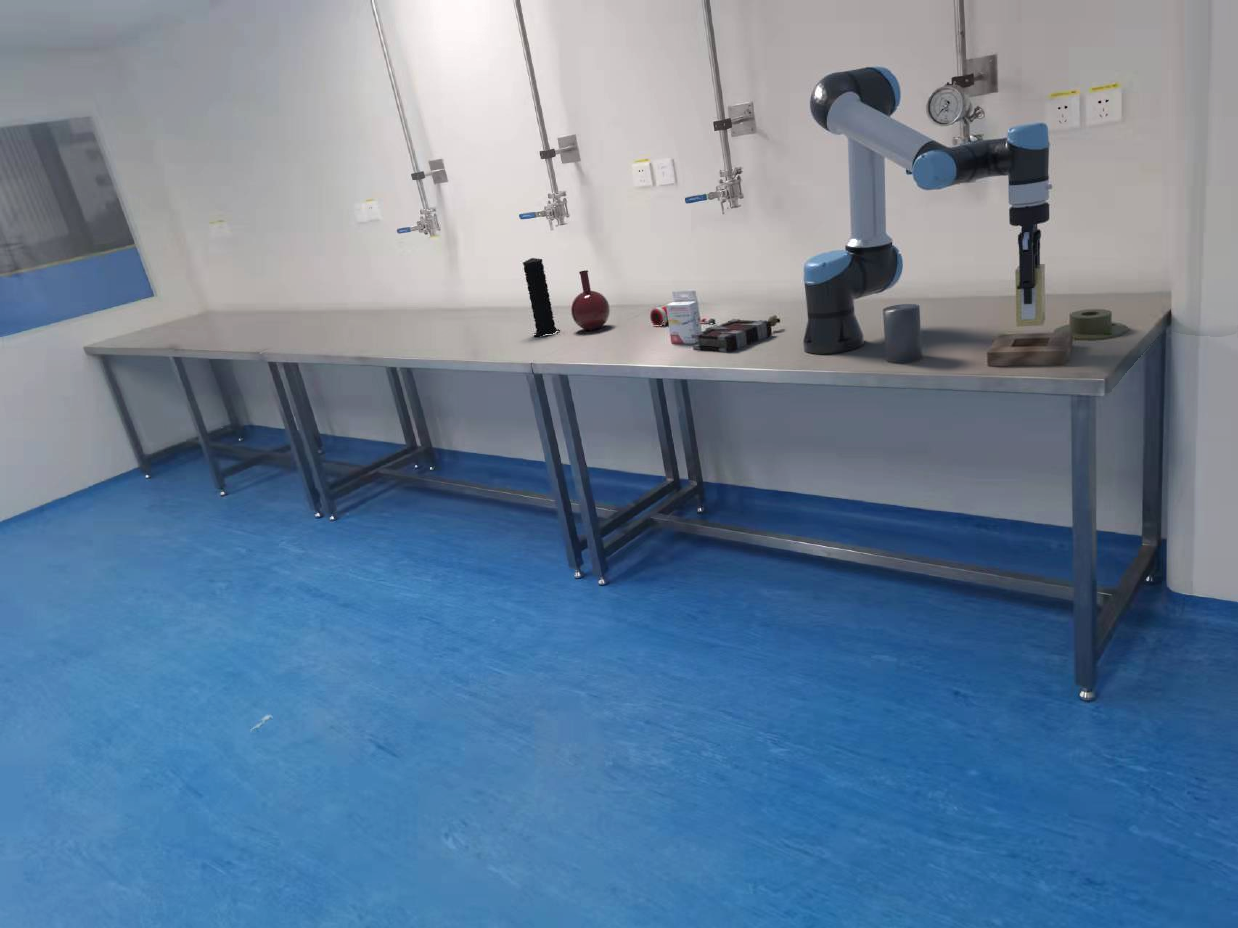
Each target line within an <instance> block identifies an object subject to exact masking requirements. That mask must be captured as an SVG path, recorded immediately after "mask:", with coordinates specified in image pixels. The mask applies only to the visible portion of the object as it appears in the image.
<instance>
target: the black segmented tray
mask: <svg viewBox="0 0 1238 928" xmlns="http://www.w3.org/2000/svg"><path fill="white" fill-rule="evenodd" d="M779 323H781V319H780V318H778V317H777V315H776V314H775V315H772V316H769V318H768V319H767V320H765V319H759V320H747V319H746V320H744V319H737V318H732V319H730V320H727V322H723V323H722V324H718V325H717V324H715V325H714V324H713V325H712V326H709V327H705V330H703V331H702V332H700V333H695V334H692V335H691V336H692V338H694V339H698V342H697V343H698V344H694V345H693V346H692V349H693V351H694V350H695V351H701V350H705V351H718V352H719V353H727V352H733V351H736V350H741V349H743V348H745V347H746V346H748V345H750V344H752V343H756V342H759V341H762V339H763V340H765V339H766V338H768V337H769V336H772V333H773V332H772V327H775V326H776V325H777V324H779Z"/></svg>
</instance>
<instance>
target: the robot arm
mask: <svg viewBox="0 0 1238 928" xmlns="http://www.w3.org/2000/svg"><path fill="white" fill-rule="evenodd" d="M901 93H902V92H901V86H900V83H899V81H898V78H897V77H896V75H895V74H893V73H892V71H891V70H890V69H888V68H886V67H883V66H867V67H861V68H857V69H850V70H845V71H838V72H831V73H829V74H827V75H825V76H824V77H822V78H821V79H819V81H818V82H817V83H816V84H815V86H814V88H813V90H812V92H811V95H810V99H809V100H810V101H809V108H810V114H811V115H812V117H813V120H814V121H815V123H817V125H819V126H820V127H822V129H823V130H825V131H827V132H829V133H830V134H832V135H836V136H838V135H844V136H845V137H846V138H847V156H848V157H847V158H848V162H847V163H848V185H849V186H848V187H849V190H848V191H849V210H850V211H849V215H850V218H849V219H850V238H848V240H847V241H846V242H845V244H844V246H845V247H844V249H838V250H831V251H828V252H823V253H820V254H816V255H815V256H812V257H811V258H809V259H807V260H806V261H805V263H804V265H803V277H802V279H803V284H804V293H805V300H806V312H807V323H806V327H805V331H804V335H803V343H802V344H803V351H804V352H806V353H808V354H809V353H810V354H817V355H819V354H821V355H824V354H825V355H826V354H827V355H828V354H839V353H844V352H848V351H851V350H853V351H854V350H857V349H858V348H860V347H862V346H864V343H865V340H864V339H865V338H864V337H865V335H864V333H863V331H862V328H861V326H860V324H859V321H858V319H857V317H856V313H855V312H856V311H855V302H854V300H859V299H862V298H864V297H868V296H871V295H874V294H875V295H876V294H877V295H878V294H880V293H883V292H884V291H886V290H889V289H892V288H893V287H894V286H895V285H896V284H898V281H899V280H900V278H901V276H902V273H903V267H904V266H903V265H904V263H903V262H904V261H903V256H902V253H899V252H900V251H899V250H900V249H898V247H897V246H896V245H894V244H893V238H892V237H891V236H889V235H888V234H887V221H886V219H887V218H886V216H887V211H886V207H887V206H886V170H885V169H886V167H885V165H886V163H885V161H886V160H885V158H886V159H887V160H889V161H890V162H893V163H894V164H896V165H898V166H900V167H902V168H903V169H904V170H907V171H909V172H911V173H912V178H913V181H914V182H915V183H916V186H917V187H918V188H919V189H922V190H923V191H933V190H942V189H945V188H947V187H948V188H949V187H951V186H956V185H959V184H964V183H968V182H972V181H977V180H981V179H985V178H991V177H1001V176H1005V177H1006V176H1008V177H1007V179H1008V184H1007V185H1008V186H1007V187H1008V188H1007V190H1008V204H1009V205H1010V208H1009V209H1008V217H1009V225H1011V226H1012V227H1021V230H1020V232H1019V234H1017V244H1018V256H1019V257H1018V260H1019V261H1018V262H1019V263H1018V264H1019V265H1018V266H1019V273H1020V284H1019V286H1017V289H1021V314H1022V319H1036V287H1034V286H1035V284H1034V280H1035V265H1038V264H1041V237H1042V231H1041V228H1038V225H1039V224H1044V223H1046V222H1048V221H1049V220H1050V203H1049V202H1047V201H1048V200H1049V199H1050V191H1049V190H1052V189H1053V184H1051V183H1050V184H1049V182H1050V176H1049V168H1050V167H1049V162H1050V161H1049V159H1050V145H1051V144H1050V140H1049V139H1050V138H1049V128H1048V125H1047V124H1046V123H1045V122H1034V123H1027V124H1022V125H1021V124H1020V125H1016V126H1012V127H1010V128H1008V130H1007V135H1006V137H1003V138H991V139H978V140H973V141H970V142H966V143H963V144H960V145H955V146H951V147H950V146H949V147H948V146H946V145H945V144H942V143H940V142H939V141H936V140H934V139H933V138H931V137H929V136H926V134H923V133H921V132H919V131H918V130H915V129H913V128H912V127H910V126H908V125H906V124H905V123H902V122H900V121H899V120H896V119H895V118H892V117H891V116H893V114H895V112H896V111H897V109H898V107H899V106H900V103H901V97H902V95H901ZM1024 281H1025V282H1024Z"/></svg>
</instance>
